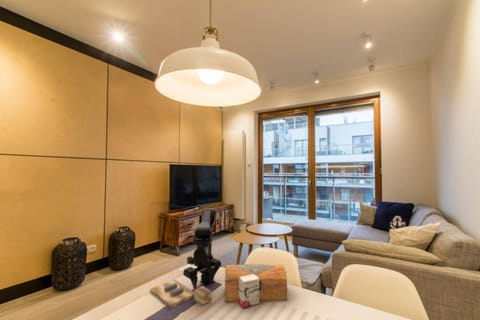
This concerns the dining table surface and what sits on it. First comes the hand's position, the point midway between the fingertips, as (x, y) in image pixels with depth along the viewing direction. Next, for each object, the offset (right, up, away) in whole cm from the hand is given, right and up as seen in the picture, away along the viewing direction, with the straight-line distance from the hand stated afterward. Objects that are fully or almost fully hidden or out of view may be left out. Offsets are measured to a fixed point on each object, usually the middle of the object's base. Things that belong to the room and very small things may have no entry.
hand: (202, 285), depth 112 cm
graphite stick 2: (-13, -5, +3) cm, 14 cm away
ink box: (+22, -7, -3) cm, 23 cm away
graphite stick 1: (-17, -6, +7) cm, 20 cm away
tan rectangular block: (0, -7, 0) cm, 7 cm away
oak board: (-16, -7, +5) cm, 18 cm away
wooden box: (+25, -8, +6) cm, 27 cm away
